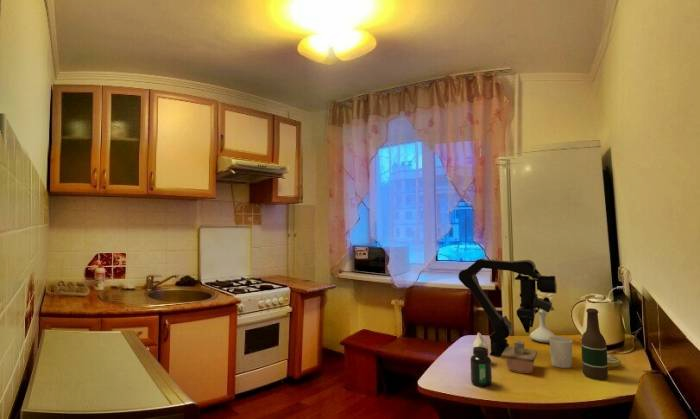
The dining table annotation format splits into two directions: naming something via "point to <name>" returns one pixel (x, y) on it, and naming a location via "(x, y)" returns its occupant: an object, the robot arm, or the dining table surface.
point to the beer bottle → (594, 349)
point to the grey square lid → (519, 352)
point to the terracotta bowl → (519, 366)
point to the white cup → (561, 351)
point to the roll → (480, 342)
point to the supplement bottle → (481, 368)
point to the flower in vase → (542, 322)
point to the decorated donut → (612, 362)
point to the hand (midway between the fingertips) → (529, 329)
